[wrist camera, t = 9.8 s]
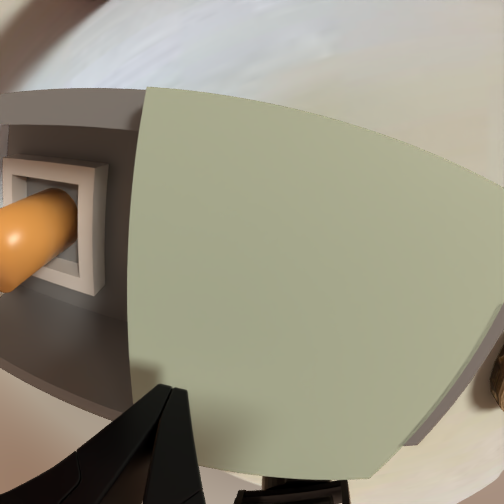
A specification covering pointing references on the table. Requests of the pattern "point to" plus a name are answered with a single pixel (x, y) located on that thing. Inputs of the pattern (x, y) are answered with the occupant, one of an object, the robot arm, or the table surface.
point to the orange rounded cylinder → (34, 234)
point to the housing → (82, 251)
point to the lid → (305, 283)
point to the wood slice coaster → (498, 379)
